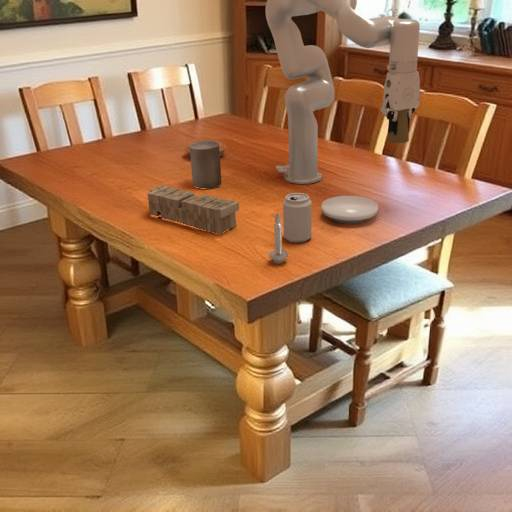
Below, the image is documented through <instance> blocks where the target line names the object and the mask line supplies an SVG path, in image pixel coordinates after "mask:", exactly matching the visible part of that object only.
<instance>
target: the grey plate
mask: <svg viewBox="0 0 512 512" xmlns="http://www.w3.org/2000/svg"><path fill="white" fill-rule="evenodd" d="M321 212H322V214H323V215H325V216H326V217H328V218H330V220H331V221H334V222H335V223H340V224H345V225H346V224H347V225H355V224H362V223H365V222H367V221H368V220H369V219H371V218H373V217H375V216H377V214H378V212H379V204H378V203H377V202H376V201H375V200H374V199H371V198H369V197H366V196H358V195H339V196H338V195H337V196H333V197H329V198H327V199H325V200H324V201H323V202H321Z"/></svg>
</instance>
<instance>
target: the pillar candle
mask: <svg viewBox="0 0 512 512" xmlns="http://www.w3.org/2000/svg"><path fill="white" fill-rule="evenodd" d="M199 141H200V142H197V141H194V142H191V143H192V144H191V143H190V144H191V145H190V144H189V145H188V146H189V147H190V155H189V156H190V166H191V180H192V185H194V186H196V187H199V188H212V189H215V188H214V187H217V186H219V185H221V183H222V182H223V181H222V172H221V171H222V169H221V157H220V151H219V143H218V142H219V141H218V142H215V141H216V140H211V141H206V140H199ZM222 184H223V183H222ZM194 186H193V187H194ZM221 186H222V185H221ZM219 187H220V186H219ZM217 188H218V187H217Z"/></svg>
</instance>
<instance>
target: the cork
mask: <svg viewBox="0 0 512 512" xmlns="http://www.w3.org/2000/svg"><path fill="white" fill-rule="evenodd" d="M409 110H410V109H405V110H401V111H397V112H398V114H397V120H396V121H398V127H397V134H396V135H394V131H393V132H390V133H388V135H387V142H389V143H393V144H394V143H395V144H405V143H408V142H409V140H410V139H409V138H410V137H409V134H410V133H409V132H408V118H407V113H408V112H409ZM392 114H393V111H392Z"/></svg>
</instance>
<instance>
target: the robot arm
mask: <svg viewBox="0 0 512 512" xmlns="http://www.w3.org/2000/svg"><path fill="white" fill-rule="evenodd" d="M357 4H358V1H357V0H266V3H265V18H266V21H267V25H268V27H269V30H270V32H271V35H272V38H273V40H274V41H273V42H274V45H275V50H276V52H277V56H278V57H277V58H278V61H279V64H280V69H281V71H282V73H283V76H284V77H285V78H286V79H288V80H298V79H303V78H306V79H307V80H305V81H303V82H302V81H301V82H298V83H294V84H293V85H291V86H290V87H289V88H288V89H287V90H286V92H285V95H284V102H285V103H284V104H285V108H286V112H287V113H286V114H287V123H288V125H287V126H288V129H287V130H288V163H287V164H285V165H276V166H275V171H276V172H278V174H284V180H285V181H286V182H287V183H292V184H295V185H296V184H297V185H308V184H310V185H311V184H313V183H314V184H315V183H318V182H320V181H321V180H322V179H323V174H322V173H321V172H320V171H318V164H319V162H318V154H319V153H318V152H319V151H318V149H319V147H318V145H319V144H318V140H319V139H318V138H319V137H318V135H319V134H318V131H319V130H318V129H319V127H318V125H319V124H318V122H317V121H318V120H317V118H316V117H315V114H314V112H315V111H317V110H322V109H325V108H328V107H329V106H331V105H333V102H334V100H335V95H336V94H335V93H336V92H335V87H334V82H333V78H332V73H331V70H330V66H329V61H328V58H327V56H326V53H325V52H324V50H322V48H321V47H319V46H317V45H312V44H309V45H304V42H303V38H302V33H301V31H300V29H299V28H298V25H297V24H296V23H295V22H294V21H293V19H292V17H298V16H300V17H301V16H308V15H311V14H316V13H318V12H320V11H321V12H324V13H325V14H326V15H328V16H329V17H330V18H332V19H333V20H335V22H336V26H337V27H338V29H339V31H340V33H341V34H342V35H343V36H344V37H345V38H346V39H348V40H349V41H350V42H352V43H354V44H355V45H357V46H359V47H361V48H366V49H372V48H376V47H382V46H389V57H388V58H389V61H388V64H387V65H386V69H387V70H388V72H387V73H386V76H385V82H384V86H383V87H384V88H383V93H382V94H383V97H382V106H381V107H380V109H379V112H380V113H381V114H382V115H384V116H385V117H386V120H387V121H388V128H387V132H388V134H389V133H390V132H393V131H394V135H396V134H397V127H398V121H396V120H397V114H398V112H397V111H401V110H405V109H410V110H409V112H408V113H407V118H408V133H410V123H411V122H410V121H411V119H412V117H413V114H414V112H415V111H416V110H417V109H418V108H419V107H420V106H421V105H420V98H421V97H420V96H421V82H420V81H421V80H420V74H419V71H417V69H418V68H417V67H418V55H419V43H420V30H421V27H420V25H421V24H420V22H419V21H418V20H416V19H414V18H413V19H412V18H399V17H395V16H390V15H389V16H379V17H374V18H373V17H372V18H366V17H365V16H363V15H361V14H360V13H358V12H357V11H356V8H357ZM392 111H393V113H392Z"/></svg>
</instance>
